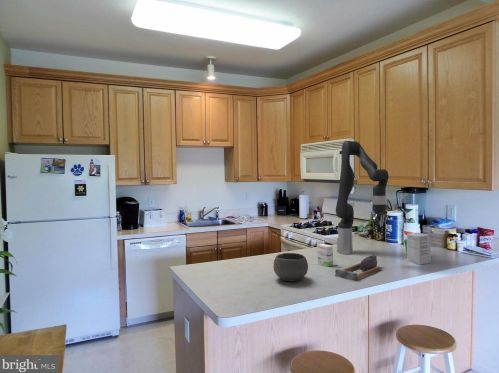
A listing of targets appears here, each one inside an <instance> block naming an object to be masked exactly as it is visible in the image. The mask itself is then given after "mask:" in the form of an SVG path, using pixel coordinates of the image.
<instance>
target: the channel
mask: <svg viewBox="0 0 499 373" xmlns="http://www.w3.org/2000/svg"><path fill="white" fill-rule="evenodd" d="M360 263H361V262H359V263H356V264H355V265H351V266H348V267H346V268H343V269H342V268H341V269H340V268H335V272H334V274H335V277H338V278H341V279H342V278H343V279H347V280H350V281H354V282H356V281H358V280H361V279H363V278H366V277H369V276H370V275H373V274H376V273H377V272H379V271H381V266H376V267H374V268H372V269H370V270H365V271H363V272H360V273H357V272H354V271H355V270H359V269H361V268H360Z"/></svg>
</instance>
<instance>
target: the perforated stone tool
mask: <svg viewBox="0 0 499 373" xmlns="http://www.w3.org/2000/svg"><path fill="white" fill-rule="evenodd" d="M377 256H378V255H375V254H373V255H369V256H366V257H365V258H364V259H362V260H361V262H359V263H360V268H359V269H360V270H362V271H363V272H365V271H368V270H370V269H372V268H375V267H377V265H378V259H377Z"/></svg>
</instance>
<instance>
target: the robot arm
mask: <svg viewBox="0 0 499 373" xmlns="http://www.w3.org/2000/svg"><path fill="white" fill-rule="evenodd" d="M351 156H356V157H357V158H359V164H360V166H361V167H362V168H363V169H364V171H366V173H367V175H368V178H369V180H371V181H372V182H377V184H376V185H374V186H373V187H372V211H373V213H374V217H372V218H371V219H372V222H373V225H374V226H376V233H378V234H381V233H383V226H384V225H385V222H386V220H387V215H385V212H387V197H386V196H387V195H386V193H387V192H386V191H387V190H386V188H387V185H388V182H389V176H390V175H389V172H388V170H387V169H384V168H381V169H380V168H379V166H378V165H377V163H376V162H375V161H374V160H373V159H372V158H371V157H370V156H369V155H368V154H367V153H366V151H365V149H364V148H363V146H362V144H360V143H359V141H357V140H356V141H355V140H354V141H353V140H345V141H343V143H342V145H341V157H340V158H341V160H340V161H341V164H340V175H339V186H338V194H337V195H338V196H337V201H336V206H335V215H336V216H337V218H338V219H340V221H339V222H338V223H337V233H338V234H337V235H338V237H337V238H336V249H337V250H336V252H337V253H339V254H340V255H351V254H353V224H354V220H355V219H354V216H355V212H354V211H355V210H354V207H353V205H351V204H350V203H348V200H349V198H350V195H351V193H352V190H353V188H354V184H355V178H356V177H355V172H354V170H353V168H352V166H351V162H350V159H351ZM378 168H379V169H378Z"/></svg>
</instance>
